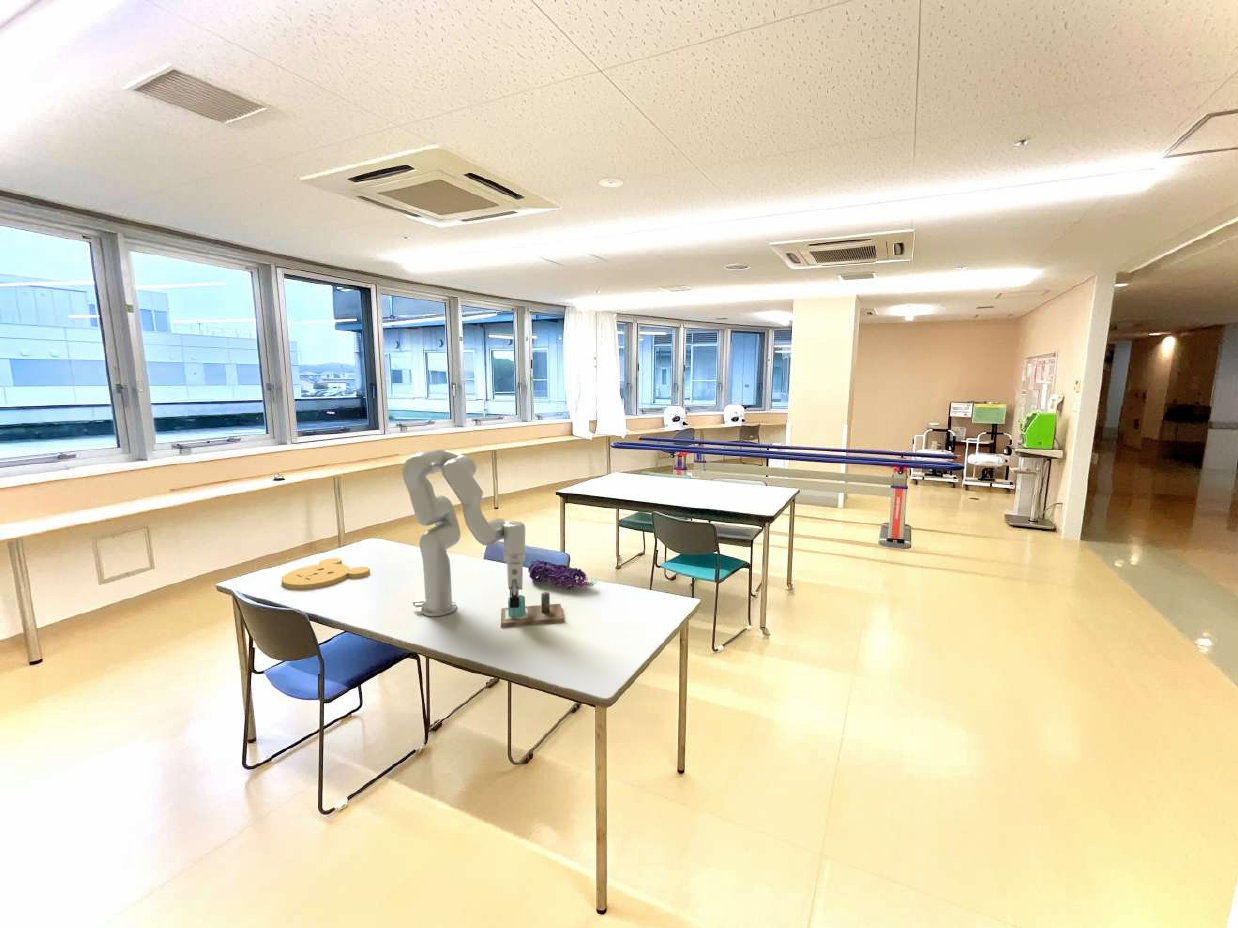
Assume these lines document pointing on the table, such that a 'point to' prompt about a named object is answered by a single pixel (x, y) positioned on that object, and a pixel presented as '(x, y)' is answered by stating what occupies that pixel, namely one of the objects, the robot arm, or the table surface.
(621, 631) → the table surface
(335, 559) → the decorative plaque
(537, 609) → the post board
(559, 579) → the decorative ornament
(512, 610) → the teal cap
